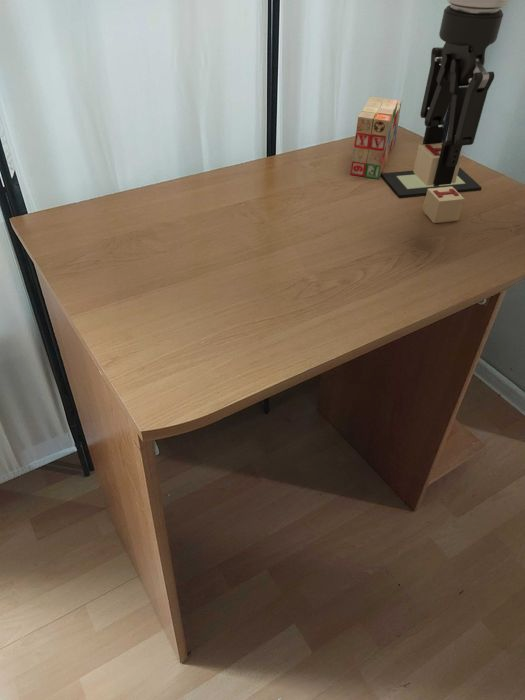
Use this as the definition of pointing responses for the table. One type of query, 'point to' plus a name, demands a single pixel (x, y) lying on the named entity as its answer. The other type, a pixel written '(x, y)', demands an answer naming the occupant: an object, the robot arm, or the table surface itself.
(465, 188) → the word mat
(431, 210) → the wooden letter block
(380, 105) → the stack of blocks
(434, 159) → the cream cube
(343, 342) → the table surface
